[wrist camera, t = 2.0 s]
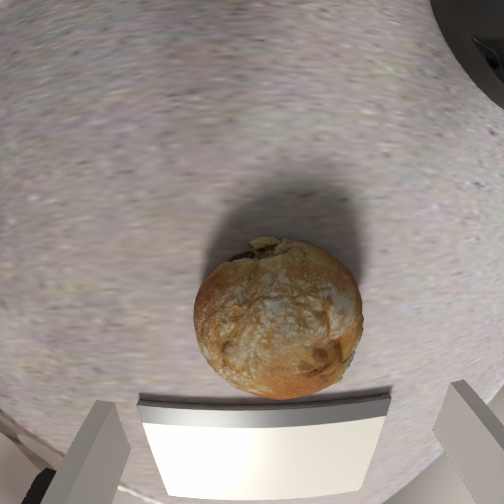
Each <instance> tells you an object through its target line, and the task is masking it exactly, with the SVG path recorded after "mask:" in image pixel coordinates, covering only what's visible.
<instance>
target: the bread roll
mask: <svg viewBox="0 0 504 504" xmlns="http://www.w3.org/2000/svg"><path fill="white" fill-rule="evenodd" d="M249 245H250V248H249V249H247V250H244V251H242V252H240V253H239V254H237V255H235V256H233V257H232V258H230V259H228V260H225V261H224V262H223V263H222V264H220V265H217V266H216V268H215V269H214V270H213V271H212V272H211V273H210V275H209V276H208V277H207V278H206V279H205V280H204V281H203V283H202V284H201V286H200V288H199V291H198V294H197V296H196V300H195V304H194V327H195V333H196V337H197V341H198V345H199V348H200V350H201V352H202V354H203V356H204V357H205V359H206V360H207V362H208V364H209V365H210V366H211V367H212V368H213V369H214V371H215V372H217V373H218V375H220V376H221V377H222V378H223V379H225V380H226V381H227V382H228V383H229V384H230V385H231V386H233V387H235V388H237V389H240V390H243V391H245V392H247V393H251V394H254V395H257V396H260V397H264V398H268V399H276V400H286V399H293V398H299V397H303V396H307V395H311V394H313V393H315V392H318V391H321V390H322V389H325V388H327V387H329V386H331V385H332V384H334V383H337V382H339V381H340V380H341V379H342V378H343V377H342V375H343V374H344V373H345V371H346V370H347V369H348V368H349V366H350V363H351V362H352V360H353V356H354V353H355V351H354V350H355V349H356V347H357V345H358V343H359V341H360V339H361V336H362V332H363V321H364V317H363V314H362V300H361V296H360V293H359V290H358V287H357V284H356V282H355V280H354V278H353V276H352V274H351V273H350V272H349V271H348V269H347V268H345V267H344V266H343V265H342V264H341V263H340V262H339V261H338V260H337V259H335V258H334V257H333V256H332V255H330V254H329V253H327V252H326V251H324V250H322V249H319V248H317V247H315V246H313V245H310V244H308V243H306V242H303V241H294V240H289V239H285V238H283V239H282V241H280V240H278V239H277V238H276V237H273V236H268V237H258V238H256V239H254V240H252V241H250V242H249Z"/></svg>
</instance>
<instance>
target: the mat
mask: <svg viewBox="0 0 504 504" xmlns="http://www.w3.org/2000/svg"><path fill="white" fill-rule="evenodd" d="M390 401H391V396H390V395H389V393H385V394H378V395H371V396H364V397H356V398H348V399H339V400H329V401H317V402H304V403H287V404H260V405H215V404H188V403H172V402H159V401H147V400H139V401H138V403H137V408H138V412H139V415H140V418H141V421H142V423H143V426H144V429H145V432H146V435H147V438H148V441H149V444H150V447H151V450H152V453H153V455H154V458H155V461H156V464H157V466H158V469H159V472H160V474H161V477H162V479H163V482H164V484H165V487H166V489H167V492H168V494H169V495H171V496H179V497H190V498H202V499H220V500H273V499H291V498H304V497H314V496H323V495H331V494H338V493H345V492H351V491H357V490H360V488H361V485H362V483H363V480H364V478H365V475H366V472H367V470H368V467H369V464H370V462H371V459H372V456H373V453H374V450H375V448H376V445H377V442H378V439H379V436H380V433H381V429H382V426H383V423H384V420H385V416H386V415H387V412H388V408H389V405H390Z"/></svg>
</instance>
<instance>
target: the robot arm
mask: <svg viewBox="0 0 504 504" xmlns="http://www.w3.org/2000/svg"><path fill="white" fill-rule="evenodd" d="M431 4H432V8H433V11H434V14H435V17H436V20H437V22H438V25H439V27H440V29H441V32H442V34H443V36H444V38H445V40H446V41H447V43H448V45H449V47H450V49H451V50H452V52H453V54H454V55H455V57H456V58H457V60H458V61H459V63H460V64H461V66H462V67H463V69H464V70H465V71H466V73H467V74H468V75H469V77H470V78H471V79H472V80H473V81H474V83H475V84H476V85H477V86H478V87H479V88H480V89H481V90H482V91H483V92H484V93H485V94H486V95H487V96H488V97H489V98H490V99H491V100H492V101H493V102H494V103H496V104H497V105H498V106H500V107H501V108H503V109H504V0H431ZM432 431H433V432H434V434H435V435H436V437H437V439H438V440H439V442H440V444H441V445H442V447H443V449H444V450H445V452H446V453H447V455H448V457H449V458H450V460H451V462H452V463H453V465H454V467H455V468H456V470H457V472H458V474H459V475H460V477H461V479H462V481H463V482H464V484H465V486H466V487H467V489H468V491H469V493H470V494H471V496H472V498H473V500H474V502H475V503H476V504H504V426H503V424H502V423H501V422H500V421H499V420H498V418H497V417H496V416H495V415H494V414H493V412H492V411H491V410H490V409H489V408H488V406H487V405H486V404H485V403H484V402H483V401H482V399H481V398H480V397H479V396H478V395H477V394H476V392H475V391H474V390H473V389H472V388H471V387H470V386H469V385H468V383H467V382H466V381H465V380H464V379H463V380H460V381H456V382H452V383H450V385H449V388H448V391H447V393H446V396H445V399H444V402H443V404H442V407H441V409H440V412H439V415H438V417H437V420H436V422H435V424H434V427H433V429H432ZM130 450H131V448H130V445H129V443H128V440H127V438H126V435H125V432H124V430H123V427H122V424H121V422H120V419H119V416H118V413H117V410H116V407H115V404H114V402H107V401H100V400H96V402H95V403H94V405H93V407H92V409H91V410H90V412H89V414H88V416H87V417H86V419H85V421H84V423H83V424H82V426H81V428H80V430H79V432H78V433H77V435H76V437H75V439H74V441H73V442H72V444H71V446H70V448H69V450H68V452H67V453H66V455H65V457H64V459H63V461H62V463H61V465H60V466H59V468H58V470H57V471H55V470H52V469H49V468H46V469H44V470H43V471H42V472H41V473H39V475H37V476H36V478H35V479H34V481H33V483H32V485H31V489H29V490H28V492H27V494H26V497H25V498H24V500H23V502H22V503H21V504H112V501H113V498H114V495H115V492H116V490H117V487H118V484H119V481H120V478H121V475H122V473H123V470H124V467H125V464H126V461H127V459H128V456H129V453H130Z"/></svg>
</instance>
